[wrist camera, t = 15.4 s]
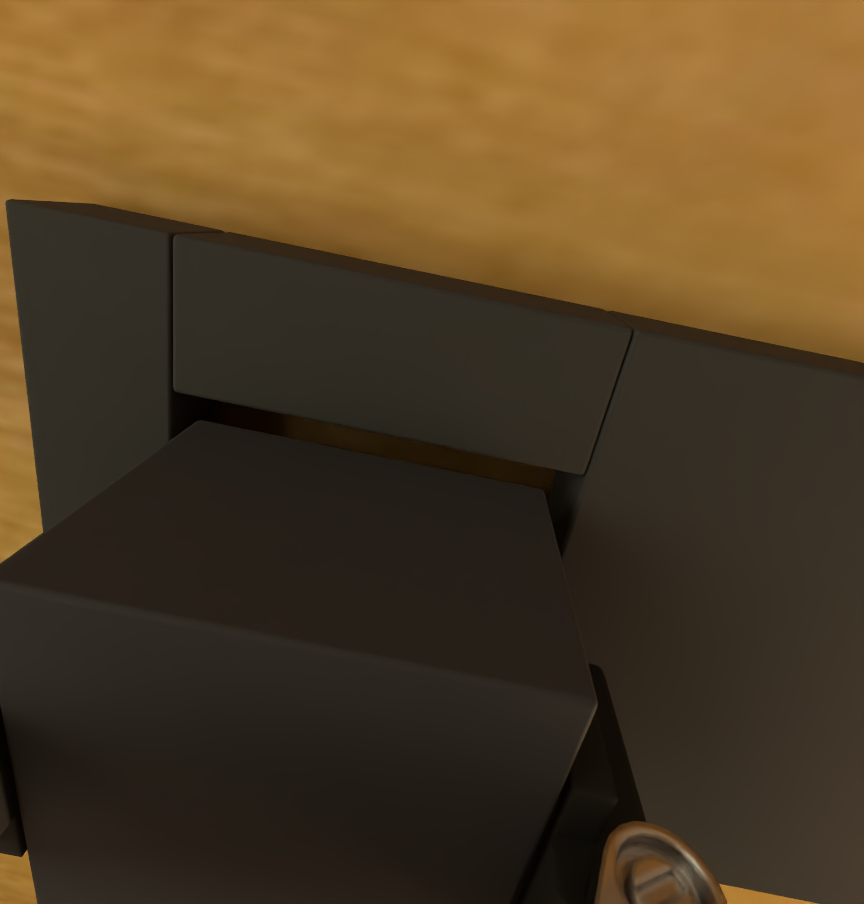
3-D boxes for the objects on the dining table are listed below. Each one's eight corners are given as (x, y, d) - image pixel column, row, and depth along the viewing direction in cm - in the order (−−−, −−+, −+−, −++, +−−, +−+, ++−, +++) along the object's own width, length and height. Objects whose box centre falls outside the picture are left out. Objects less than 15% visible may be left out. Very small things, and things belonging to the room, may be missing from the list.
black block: (198, 417, 9) (-29, 578, 5) (545, 487, 9) (603, 706, 5) (194, 676, 12) (39, 931, 7) (469, 731, 12) (466, 1013, 7)
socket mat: (91, 202, 10) (2, 198, 8) (1168, 425, 10) (1326, 471, 8) (118, 687, 14) (67, 754, 13) (847, 833, 15) (900, 921, 13)
